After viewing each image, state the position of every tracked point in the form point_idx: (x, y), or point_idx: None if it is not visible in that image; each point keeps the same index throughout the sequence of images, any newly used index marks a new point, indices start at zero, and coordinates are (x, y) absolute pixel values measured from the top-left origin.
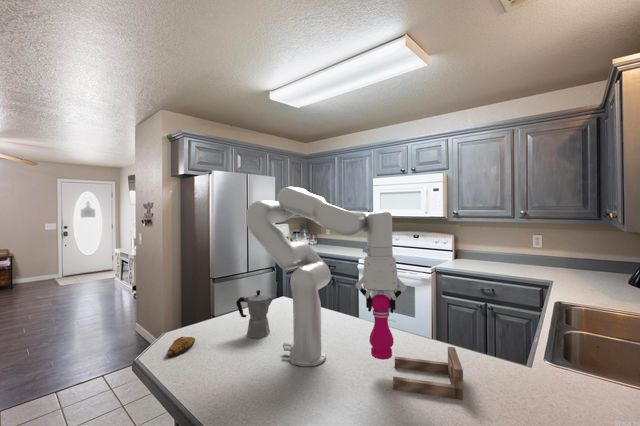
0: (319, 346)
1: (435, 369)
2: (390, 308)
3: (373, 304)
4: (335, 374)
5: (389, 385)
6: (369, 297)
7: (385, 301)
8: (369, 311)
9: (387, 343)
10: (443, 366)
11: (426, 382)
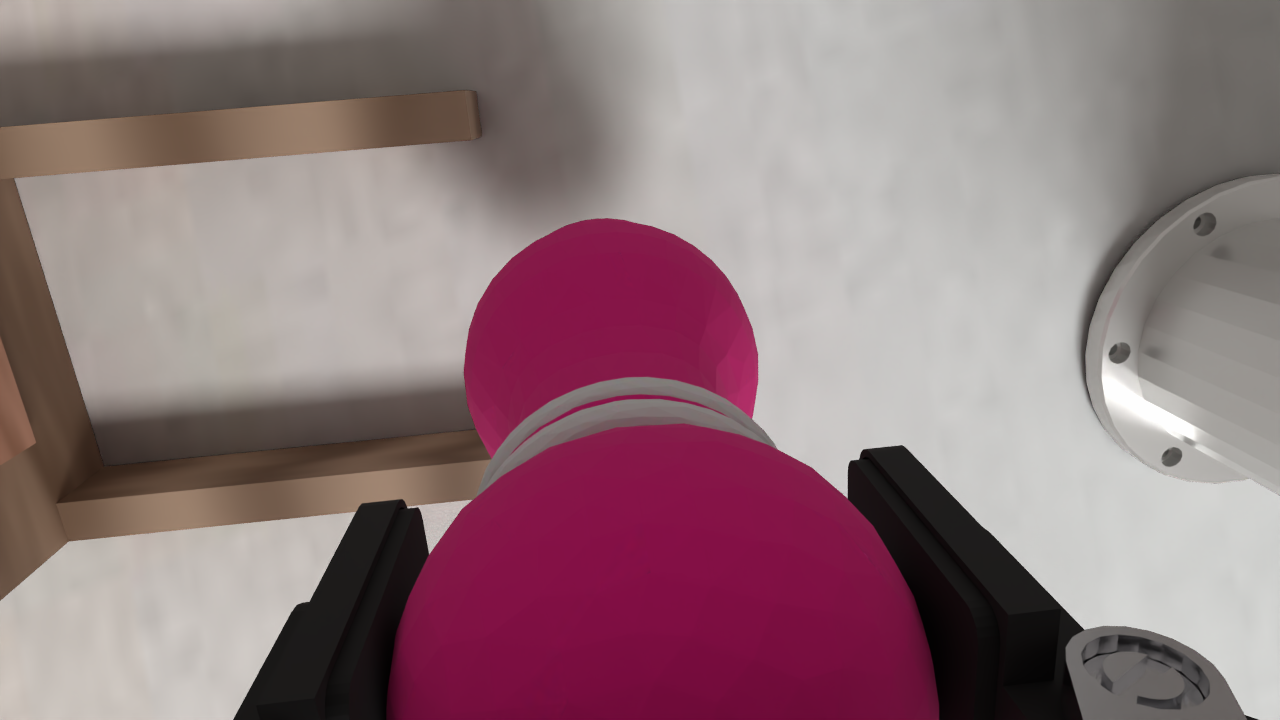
0: (1217, 354)
1: (189, 469)
2: (397, 554)
3: (834, 492)
4: (961, 160)
5: (514, 149)
6: (1030, 699)
7: (488, 598)
8: (873, 451)
9: (515, 264)
10: (108, 492)
11: (176, 138)
